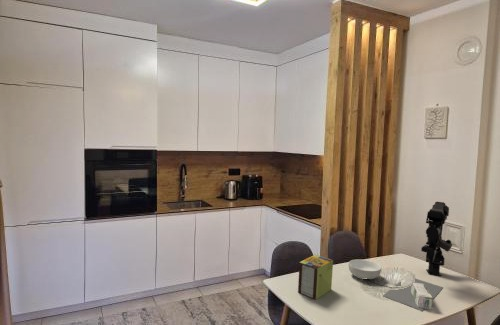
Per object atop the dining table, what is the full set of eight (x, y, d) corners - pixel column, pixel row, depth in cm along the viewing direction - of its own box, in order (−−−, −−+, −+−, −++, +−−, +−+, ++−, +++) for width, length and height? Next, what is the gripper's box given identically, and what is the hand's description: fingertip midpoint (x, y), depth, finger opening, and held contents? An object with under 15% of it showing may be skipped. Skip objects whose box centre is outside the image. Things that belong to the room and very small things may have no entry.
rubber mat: (407, 276, 182) (407, 275, 182) (442, 287, 170) (443, 287, 170) (382, 296, 158) (382, 295, 158) (422, 311, 146) (422, 310, 146)
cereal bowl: (380, 274, 184) (381, 262, 183) (379, 286, 168) (380, 273, 168) (349, 268, 191) (350, 256, 190) (345, 279, 175) (346, 266, 175)
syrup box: (422, 294, 161) (432, 309, 147) (410, 292, 162) (417, 307, 148) (424, 283, 160) (433, 297, 146) (411, 281, 162) (419, 295, 148)
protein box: (331, 289, 163) (333, 259, 162) (315, 300, 152) (317, 268, 150) (313, 282, 170) (315, 254, 169) (297, 292, 159) (298, 261, 157)
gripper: (446, 241, 160) (443, 271, 161) (455, 234, 173) (453, 262, 174) (422, 235, 168) (419, 264, 169) (432, 229, 181) (430, 256, 182)
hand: (431, 262), depth 173 cm, fingers closed
